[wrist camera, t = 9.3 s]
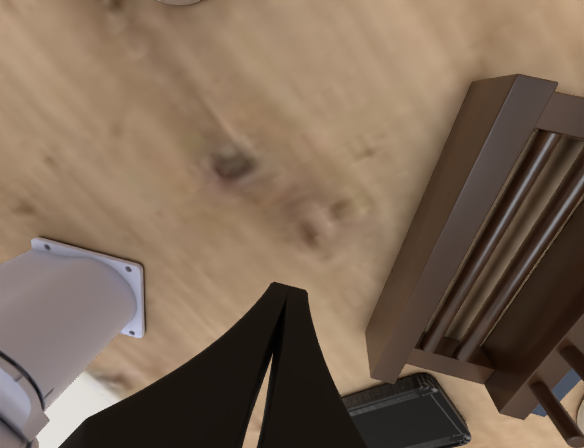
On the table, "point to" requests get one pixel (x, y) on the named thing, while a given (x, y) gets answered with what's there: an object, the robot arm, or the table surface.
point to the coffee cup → (179, 2)
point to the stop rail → (560, 390)
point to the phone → (408, 415)
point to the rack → (458, 237)
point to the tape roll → (581, 417)
